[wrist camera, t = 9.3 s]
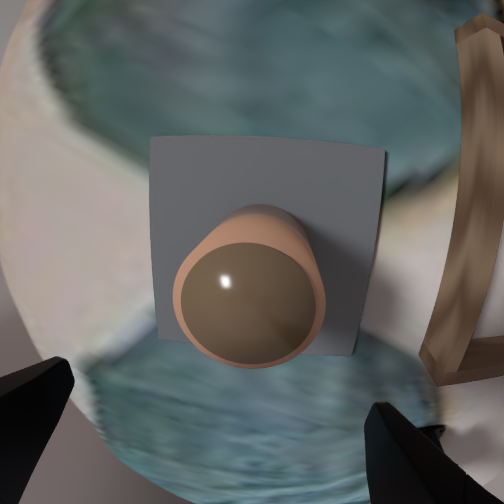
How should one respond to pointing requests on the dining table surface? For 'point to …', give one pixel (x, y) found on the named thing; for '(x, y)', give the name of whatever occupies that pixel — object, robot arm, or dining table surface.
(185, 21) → the dining table surface
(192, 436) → the dining table surface
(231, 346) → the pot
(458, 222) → the frame
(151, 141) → the mat
